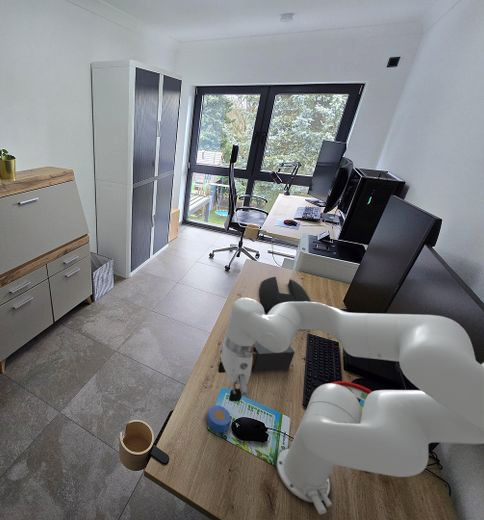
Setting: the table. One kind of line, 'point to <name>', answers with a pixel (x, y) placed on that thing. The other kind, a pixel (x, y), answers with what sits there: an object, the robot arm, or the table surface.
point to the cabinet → (272, 359)
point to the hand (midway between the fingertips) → (228, 385)
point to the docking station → (280, 294)
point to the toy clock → (356, 391)
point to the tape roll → (218, 419)
